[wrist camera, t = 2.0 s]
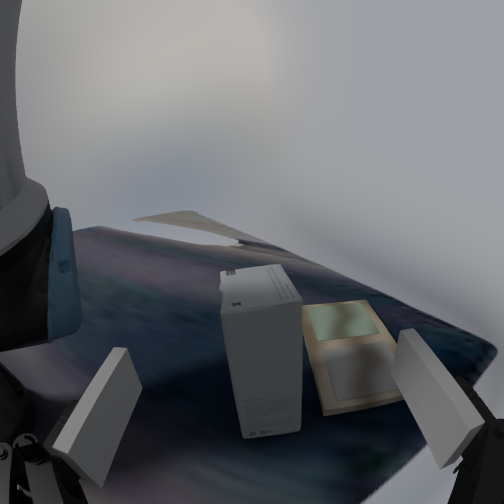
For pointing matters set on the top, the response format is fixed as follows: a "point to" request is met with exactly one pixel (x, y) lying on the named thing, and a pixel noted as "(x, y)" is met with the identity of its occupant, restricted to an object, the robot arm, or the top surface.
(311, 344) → the board
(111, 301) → the top surface
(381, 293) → the top surface
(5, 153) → the robot arm
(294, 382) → the skincare box
